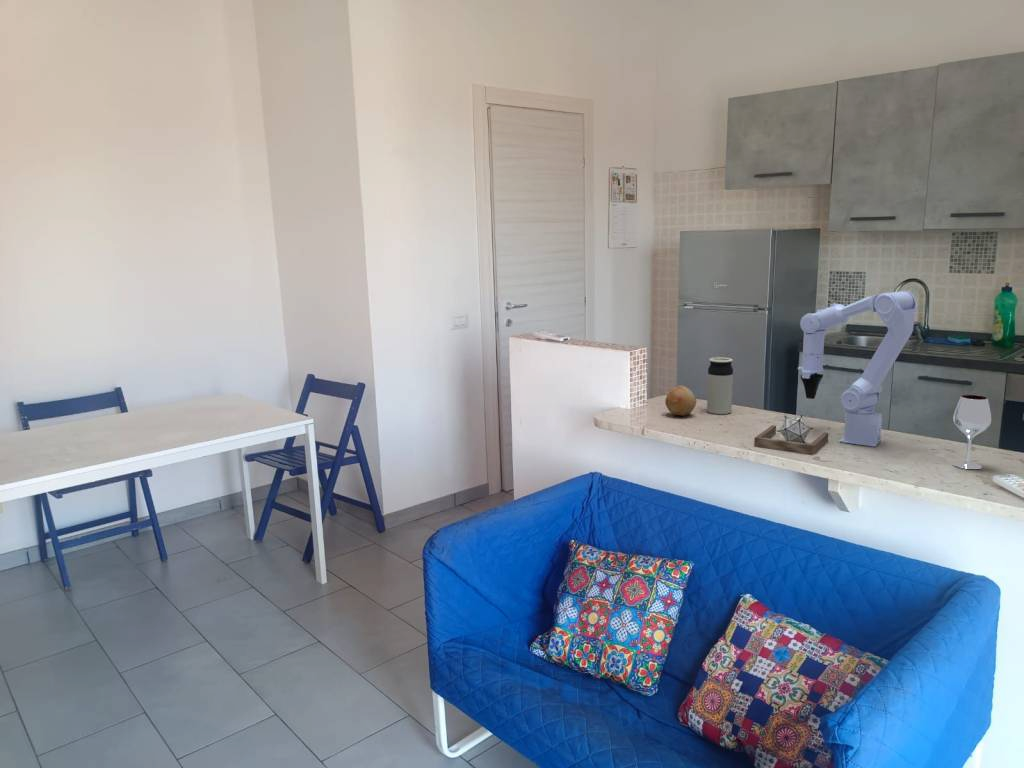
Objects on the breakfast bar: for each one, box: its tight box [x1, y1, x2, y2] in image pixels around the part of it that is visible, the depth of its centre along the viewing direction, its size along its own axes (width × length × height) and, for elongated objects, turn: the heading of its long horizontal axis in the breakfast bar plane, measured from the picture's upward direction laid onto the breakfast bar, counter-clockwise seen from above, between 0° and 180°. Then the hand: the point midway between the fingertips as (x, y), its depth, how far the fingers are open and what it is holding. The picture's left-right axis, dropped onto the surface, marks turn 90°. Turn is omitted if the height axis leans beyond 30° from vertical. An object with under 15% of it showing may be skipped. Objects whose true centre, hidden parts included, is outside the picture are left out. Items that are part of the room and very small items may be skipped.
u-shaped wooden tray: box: [753, 425, 830, 456], centre depth 215 cm, size 16×16×2 cm
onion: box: [664, 385, 697, 417], centre depth 249 cm, size 10×10×10 cm
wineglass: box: [952, 394, 992, 470], centre depth 190 cm, size 8×8×18 cm
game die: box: [776, 414, 814, 444], centre depth 215 cm, size 9×8×10 cm
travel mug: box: [706, 356, 734, 415], centre depth 252 cm, size 8×8×18 cm
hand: (810, 398), depth 228 cm, fingers closed
